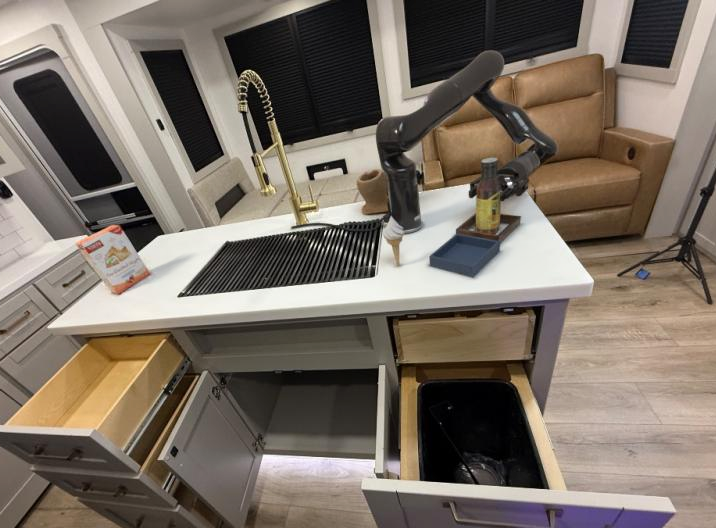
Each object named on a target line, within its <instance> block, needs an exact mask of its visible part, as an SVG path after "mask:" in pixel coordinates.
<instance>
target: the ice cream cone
mask: <svg viewBox="0 0 716 528" xmlns="http://www.w3.org/2000/svg"><path fill="white" fill-rule="evenodd" d="M403 229H404V228H402V227H401V226H399V224H398V223H397V222H396V221H395V220H394V219H393V218H392V216H391V217H390V220H389V222H388V223H386V225H385V228H384V230H383V231H382V235H383V238H384V239H385V240H386V243H387V244H388V245H390V246H391V248H392V253H393V256H394V260H395V264H396V266H397V267H399V266H400V244H401V243H402V241H403V239H404V238H403V237H404V235H405V234H404V231H403Z"/></svg>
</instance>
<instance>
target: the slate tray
mask: <svg viewBox="0 0 716 528" xmlns="http://www.w3.org/2000/svg"><path fill="white" fill-rule="evenodd" d="M500 252H501V243H500V241H496V240H490V239H484V238H479V237H473V236H468V235H462V234H456V233H455V234H454V235H453V236H451V238H449V239H448V240H447V241H446V242H444V243H443V244H442V245H441V246H440V247H438V248H437V249H435V251H434V252H432V253H431V254H429V256H428V259H429V267H432V268H435V269H439V270H443V271H447V272H450V273H453V274H454V273H455V274H459V275H461V276H466V277H469V278H474V277H475V276H477V274H479V272H481V271H482V270H483V269H484V268H485V267H486V266H487V265H488V264H489V263H490V262H491V261H492V260H493V259H494V258H495V257H496V256H497V255H498V254H499V253H500Z"/></svg>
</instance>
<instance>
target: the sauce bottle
mask: <svg viewBox="0 0 716 528" xmlns="http://www.w3.org/2000/svg"><path fill="white" fill-rule="evenodd" d="M498 165H499V159H498V157H487V158H484V159H482V160H481V161H480V168H481V175H480V177H481V180H480V182H479V183H478V185H477V195H476V196H475V213H476V223H475V227H476V228H475V231H477V232H483V233H489V234H496V233H498V232H499V230H500V229H499V228H500V225H501V223H500V214H501V207H502V201H500V194H501V193H502V191H501V190H502V189H501V186H500V183H499V180H498V177H497V170H498Z"/></svg>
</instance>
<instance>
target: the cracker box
mask: <svg viewBox="0 0 716 528" xmlns="http://www.w3.org/2000/svg"><path fill="white" fill-rule="evenodd" d="M75 246H76V247H77V248H78V250H79V251H80V252H81V254H83V256H84V257H85V259H86V261H87V262H88V263H89V265H90V266H91V267H92V268H93V270H94V271H95V272H96V274H97V275H98V277H100V280H101V281H102V282H103V283H104V284H105V286H106V287H107V289H108V290H109V291H110V292H111V293H112V294H116V295H120V294H122V292H124V291H126V290H128V289H129V288H130V287H132V286H134V285H135V284H137V283H139V282H140V281H142V280H143V279H145V278H146V277H148V276H150V275H151V272H150V270H149V269H148V268H147V266H146V265H145V263H144V261H143V260H142V258H141V256H140V255H139V253H138V251H137V250H136V249H135V247H134V246H133V244H132V242H131V241H130V239H129V238H128V236H127V235H126V233H125V231H124V230H123V228H122V226H121V225H117V224H116V225H114V224H111V225H109V226H107V227H105V228H103V229H101V230H100V231H96V232H95V233H93V234H91V235H88V236H87V237H85V238H83V239H81V240H79V241H77V242H75Z"/></svg>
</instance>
